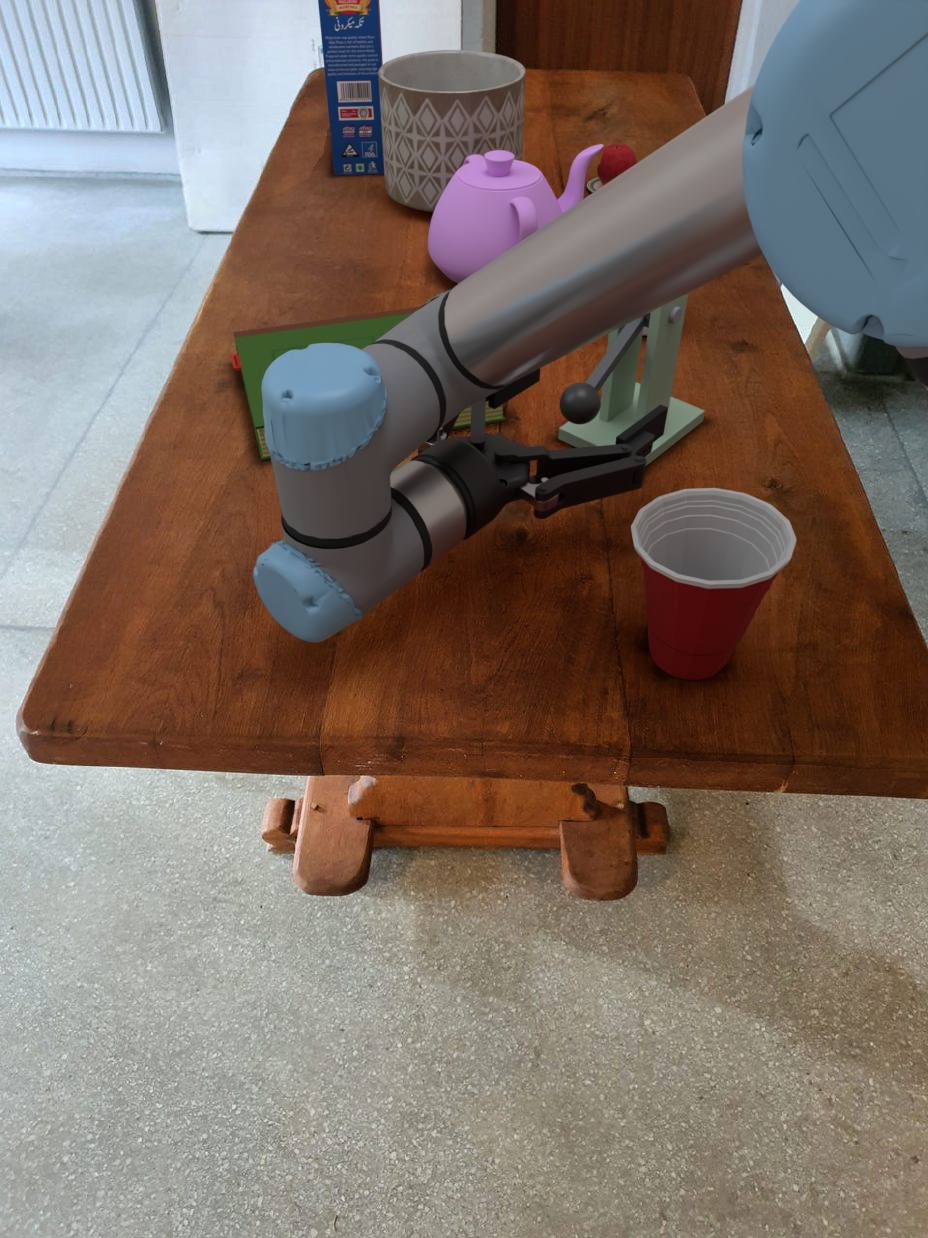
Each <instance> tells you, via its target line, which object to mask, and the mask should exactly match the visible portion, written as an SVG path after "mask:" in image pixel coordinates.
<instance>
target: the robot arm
mask: <svg viewBox="0 0 928 1238" xmlns="http://www.w3.org/2000/svg"><path fill="white" fill-rule="evenodd" d="M762 256H764V258H765V260H766V261H767V263H768V266H769V267H770V268H771V270H772V271H773V274H774V275H775V276H776V277H777V279H778V280H779V281H780V282H781V284H782V285H783V286H784V288H786V290H787V291H788V292H789V294H790V295H792V296H793V297H794V298H795V299H796V301H798V302H799V303H800V304H801V305H802V306H804V308H806V309H807V310H809V312H811V313H812V314H814V315H815V316H816V317H817V318H818V319H820V320H822V321H824V322H825V323H827V324H828V325H830V326H832V327H834V328H836V329H838V330H840V331H843V332H844V333H846V334H849V335H857V334H864V335H866V336H868V337H872V338H876V339H878V340H882V341H883V342H884V343H885V344H887V345H890V346H894V347H895V349H896V350H897V351H898V353H899V354H900V355H901V356H902V358H903V359H904V361H905V362H906V363H907V364H908V366H909V368H910V369H911V371H912V372H913V373H914V375H915V376H916V378H917V379H918V381H919V382H920V383H921V384H922V386H923V387H924V388H925V389H926V391H927V392H928V0H799V1H798V2H797V3H796V5H795V6H794V7H793V9H792V10H791V11H790V12H789V14H788V16H787V17H786V19H785V21H784V22H783V24H782V26H781V27H780V29H779V30H778V32H777V33H776V35H775V37H774V39H773V41H772V42H771V45H770V47H769V48H768V51H767V53H766V55H765V57H764V60H763V62H762V64H761V66H760V69H759V72H758V74H757V77H756V80H755V83H754V84H752V85H751V86H749V87H748V88H747V89H745V90H744V91H742V92H741V93H739V94H738V95H736V96H735V97H733V98H732V99H730V100H729V101H727V102H726V103H724V104H722V105H721V106H720V107H718V108H717V109H715V110H714V111H712V112H711V113H710V114H708V115H707V116H705V117H703V118H702V119H701V120H699V121H697V122H696V123H694V124H693V125H692V126H690V127H689V128H687V129H686V130H683V132H681V133H680V134H678V135H676V136H675V137H674V138H672V139H671V140H669V141H668V142H667V143H665V144H663V145H662V146H660V147H659V148H657V149H656V150H655V151H653V152H652V153H650V154H648V155H647V156H646V157H644V158H643V159H641V160H639V161H637V164H635V165H634V166H632V167H631V168H629V169H628V170H626V171H625V172H623V173H622V174H620V175H619V176H617V177H616V178H614V179H613V180H611V181H610V182H608V183H607V184H605V185H604V186H602V187H601V188H599V189H598V190H597V191H595V192H594V193H592V192H591V194H589V195H587V196H586V197H585V198H583V200H582V201H580V202H579V203H577V204H576V205H574V206H573V207H571V208H570V209H568V210H567V211H565V212H564V213H562V214H561V215H559V216H558V217H556V218H555V219H553V220H552V221H550V222H549V223H547V224H546V225H544V226H543V227H541V228H540V229H538V230H537V231H536V232H534V233H533V234H531V235H530V236H528V237H527V238H525V239H524V240H522V241H521V242H519V243H518V244H516V245H515V246H513V247H512V248H510V249H509V250H507V251H506V252H504V253H503V254H501V255H500V256H498V257H497V258H495V259H494V260H492V261H491V262H489V263H488V264H486V265H485V266H483V267H482V268H480V269H479V270H478V271H476V272H475V273H473V274H472V275H470V276H469V277H467V278H466V279H464V280H463V281H461V282H460V283H456V285H455V286H454V287H452V288H451V289H449V290H446V291H445V292H442V293H438V294H437V295H435V296H434V297H432V298H431V299H429V300H428V301H427V302H425V303H424V304H422V305H421V306H419V307H420V308H418V309H417V310H416V311H415V312H414V313H413V314H412V315H411V316H409V317H408V318H406V319H405V320H403V321H402V322H401V323H399V324H398V325H397V326H395V327H394V328H392V329H391V330H390V331H388V332H387V333H386V334H384V335H383V336H382V337H380V338H379V339H378V340H376V341H375V342H373V343H371V344H369V345H368V346H367V347H365V348H363V349H362V350H360V349H358V348H356V347H353V346H350V345H345V344H339V343H317V344H311V345H309V346H308V347H307V348H306V349H303V350H290V351H288V352H286V353H284V354H283V355H281V356H280V357H278V358H277V359H276V360H275V361H273V362H272V364H271V365H270V366H269V367H268V369H267V370H266V372H265V375H264V377H263V380H262V387H261V389H262V399H263V417H264V425H265V427H264V435H265V441H266V445H267V447H268V449H269V452H270V457H271V459H270V461H271V465H272V472H273V476H274V481H275V487H276V492H277V497H278V502H279V507H280V514H281V515H280V516H281V517H280V525H281V530H282V534H283V536H282V539H281V540H279V541H277V540H276V541H275V542H272V543H271V545H270V546H269V547H268V548H267V549H266V550H265V551H264V552H262V553H261V554H259V555H258V556H257V558H256V562H255V563H256V564H255V566H254V567H253V581H254V585H255V589H256V591H257V593H258V595H259V598H260V599H261V602H262V603H263V605H264V607H265V608H266V610H267V611H268V613H269V614H270V616H272V618H273V619H274V620H275V621H276V622H277V623H278V625H279V626H281V628H283V629H284V630H285V631H287V632H288V633H289V634H291V635H293V636H294V637H295V638H296V639H299V640H301V641H304V642H306V643H307V642H308V643H321V642H323V641H326V640H328V639H329V638H331V637H333V636H334V635H336V634H337V633H338V632H341V631H342V630H344V629H346V628H347V627H348V626H350V625H352V624H354V623H355V622H357V623H358V622H359V621H361V620H362V619H363V618H364V617H363V616H365V615H366V614H368V613H369V612H370V611H372V610H373V609H375V607H377V606H378V605H379V604H381V603H382V602H383V601H385V600H386V599H387V598H389V597H390V596H391V595H393V594H395V593H396V592H397V591H398V590H400V589H401V588H402V587H404V586H405V585H406V584H407V583H409V582H411V581H412V580H413V579H414V578H416V577H417V576H418V575H420V574H421V573H422V572H423V571H425V570H426V569H428V568H429V567H431V566H432V565H434V564H435V563H437V561H439V560H440V559H442V558H443V557H445V556H446V555H447V554H449V553H450V552H451V551H452V550H454V549H455V548H457V547H459V545H460V544H462V542H463V541H466V540H468V539H470V537H472V536H474V535H475V534H477V533H478V532H479V531H480V530H482V529H483V528H485V527H486V526H487V525H489V524H490V523H492V522H493V521H494V520H495V519H496V518H497V517H498V515H499V514H500V513H501V512H502V510H503V509H504V507H506V505H508V504H510V503H513V502H516V501H517V502H519V501H521V500H523V501H524V502H526V503H528V504H529V505H531V506H532V507H533V516H534V517H535V518H536V519H538V520H545V519H548V518H550V517H551V516H553V515H554V514H556V513H558V512H559V511H561V510H563V509H567V508H571V507H574V506H579V505H582V504H583V505H584V504H587V503H590V502H594V501H598V500H601V499H605V498H609V497H613V496H617V495H620V494H624V493H628V492H631V491H635V490H640V489H641V488H642V487H643V485H644V478H645V472H646V458H645V457H646V456H647V455H649V454H650V453H651V451H652V447H653V442H655V441H656V440H657V439H659V438H660V437H661V436H662V435H664V429H665V423H666V417H667V411H668V407H666V406H663V405H661V404H660V405H659V406H658V407H656V408H655V409H654V410H652V411H651V412H649V413H648V414H647V415H645V416H644V417H643V418H641V419H640V420H639V421H637V422H636V423H635V424H633V425H632V426H630V427H629V428H628V429H626V430H625V431H624V432H622V433H621V434H620V435H618V436H617V437H616V443H615V445H604V446H593V447H581V448H577V447H571V448H570V447H569V448H559V449H548V448H547V447H546V446H545V445H534V446H526V445H524V444H522V443H520V442H516V441H513V440H510V439H509V438H508V437H507V436H506V435H503V434H501V433H499V432H496V433H486V424H485V402H487V401H488V407H491V408H493V409H496V408H498V407H499V406H501V405H502V404H503V405H505V404H506V403H507V402H509V401H510V400H513V398H515V397H517V396H519V395H520V394H522V393H523V392H524V391H526V390H528V389H529V388H531V387H533V386H534V385H536V384H537V383H539V382H540V381H541V369H542V368H544V367H546V366H548V365H549V364H551V363H553V362H555V361H557V360H559V359H561V358H564V357H565V356H567V355H569V354H571V353H573V352H575V351H577V350H579V349H581V348H583V347H584V346H587V345H589V344H591V343H593V342H594V341H597V340H598V339H601V338H602V337H604V336H606V335H609V333H610V332H612V331H614V330H616V329H618V328H620V327H622V326H624V325H626V324H628V323H630V322H632V321H634V320H636V319H638V318H640V317H642V316H644V315H646V314H648V313H650V312H652V311H654V310H656V309H658V308H660V307H662V306H664V305H665V304H667V303H669V302H671V301H673V300H675V299H677V298H679V297H681V296H683V295H685V294H687V293H688V294H689V293H691V292H693V291H695V290H697V289H699V288H701V287H703V286H705V285H707V284H709V283H711V282H713V281H714V280H717V279H718V278H720V277H722V276H724V275H727V274H728V273H730V272H732V271H734V270H736V269H739V268H741V267H742V266H744V265H746V264H748V263H750V262H752V261H754V260H756V259H759V258H760V257H762ZM469 406H471V426H470V427H469V428H470V431H469V435H467V436H459V437H458V436H457V437H450V435H451V433H452V431H453V430H452V429H453V427H454V425H455V423H456V421H457V419H458V417H459V415H460V413H461V412H462V411H463V410H465V409H466V408H467V407H469ZM415 451H417V455H415V456H413V457H412V458H411V459H410V460H407V461H405V460H406V459H408V458H409V457H410V456H411V455H412V454H413V453H414V452H415ZM404 461H405V462H404ZM533 461H536V468H535V469H536V471H535V474H534V475H531V463H532V462H533Z"/></svg>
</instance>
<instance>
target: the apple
mask: <svg viewBox="0 0 928 1238" xmlns="http://www.w3.org/2000/svg"><path fill="white" fill-rule="evenodd" d="M637 163H638V161H637V156H636V153H635V151H634V149H633V148H632V147H631V146H629V145H628V144H626V143H623V142H614V143H611V144H609V145H606V146H604V147H603V148H602V149H601V152H600V157H599V160H598V165H597V168H596V169H597V176H598V177H595V178H592V179H591V180H589V181H588V182H587V184H586V188H587V189H588V191H590V192H591V194H592V193H594V192H595V191H597V190H598V189H599V188H601V187H602V186H604V185H605V184H607V183H608V182H610V181H611V180H613V179H614V178H616V177H617V176H619V175H620V174H622V173H623V172H625V171H626V170H628V169H629V168H631V167H632V166H634V165H635V164H637Z"/></svg>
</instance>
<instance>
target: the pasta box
mask: <svg viewBox="0 0 928 1238" xmlns="http://www.w3.org/2000/svg"><path fill="white" fill-rule="evenodd" d="M317 4H318V14H319V15H318V16H319V26H320V36H321V47H322V57H323V69H324V79H325V80H324V81H325V89H326V100H327V110H328V111H327V112H328V121H329V133H330V143H331V153H332V154H331V155H332V165H333V176H363V175H364V176H365V175H384V158H383V142H382V125H381V109H380V92H379V76H378V71H379V69H380V67H381V66H382V65H383V64H384V63H383V60H384V59H383V43H382V26H381V24H382V23H381V11H380V10H381V6H380V0H317ZM335 168H336V169H335Z"/></svg>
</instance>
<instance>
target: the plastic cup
mask: <svg viewBox="0 0 928 1238" xmlns="http://www.w3.org/2000/svg"><path fill="white" fill-rule="evenodd" d="M630 531H631V537H632V542H633V547H634V550H635V552H636V553H637V554H638V555H639V557H640V559H641V565H642V568H643V569H642V570H643V581H644V596H645V597H644V599H645V612H646V613H645V614H646V621H647V637H648V646H649V647H648V648H649V652H650V655H651V658H652V660H653V661H654V663H655V664H656V665H657V667H658V668H659V669H661V670H662V671H664V672H665V673H666V674H668V675H669V676H672V677H675V678H679V679H681V680H686V681H687V680H688V681H695V680H696V681H701V680H704V679H709V678H711V677H714V676H716V675H717V674H718V673H719V672H720V671H721V670H723V668H724V666H726V664H728V662H729V660H730V658H731V656H732V654H733V652H734V651H735V649H736V647H737V645H738V644H739V643H740V642H741V640H742V638H744V635H745V633H746V632H747V629H748V628H749V625H750V624H751V621H752V620H753V618H754V616H755V615H756V612H757V611H758V608H759V607H760V605H761V603H762V601H763V599H764V597H765V595H766V593H767V592H768V591H770V588H771V586H772V584H773V582H774V580H776V578H777V576H778V575H779V572H781V570H783V568H785V567H786V566H787V565H788V564H789V563H790V561H791V560H792V557H793V553H794V551H795V546H796V543H797V541H798V540H797V537H796V534H795V532H794V529H793V527H792V524H791V522H790V520H789V519H788V518H787V517H786V516H784V514H782V512H780V511H779V510H778V509H777V508H776V507H774V505H772V504H771V503H769V502H766V501H764V500H761V499H759V498H757V497H754V496H753V495H750V494H748V493H746V492H741V491H735V490H730V489H724V488H719V487H701V488H698V487H697V488H684V489H680V490H677V491H673V492H670V493H666V494H663V495H659V496H657V497H655V498H654V499H653V500H652V501H650V502H648V503H647V504H646V505H644V506H643V507H641V508H640V509H639V510H638V512H637V514H636V516H635V518H634V520H633V521H632V524H631V525H630Z"/></svg>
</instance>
